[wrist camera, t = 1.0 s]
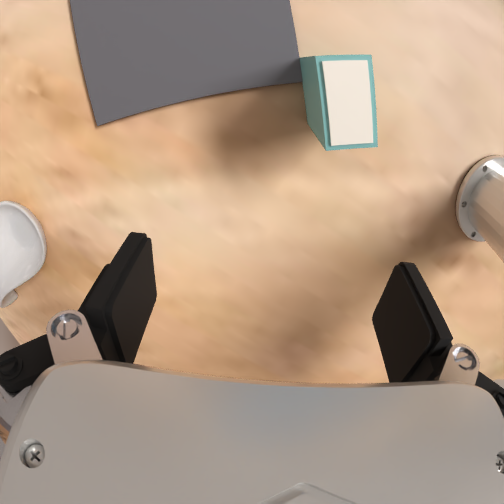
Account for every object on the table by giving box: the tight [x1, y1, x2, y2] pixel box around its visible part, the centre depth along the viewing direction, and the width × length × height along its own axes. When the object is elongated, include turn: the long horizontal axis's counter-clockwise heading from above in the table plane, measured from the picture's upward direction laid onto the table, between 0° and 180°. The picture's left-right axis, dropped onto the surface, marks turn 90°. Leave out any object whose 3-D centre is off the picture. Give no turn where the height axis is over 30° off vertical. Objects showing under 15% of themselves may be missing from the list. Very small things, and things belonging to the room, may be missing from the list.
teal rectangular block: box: [299, 55, 378, 151], centre depth 23 cm, size 4×7×10 cm, turn 9°
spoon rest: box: [0, 201, 47, 308], centre depth 37 cm, size 24×12×7 cm, turn 138°
